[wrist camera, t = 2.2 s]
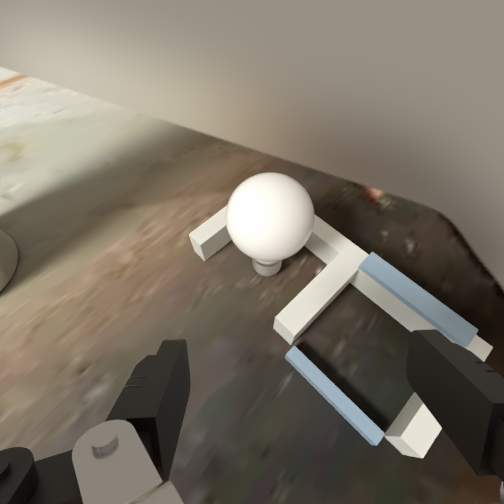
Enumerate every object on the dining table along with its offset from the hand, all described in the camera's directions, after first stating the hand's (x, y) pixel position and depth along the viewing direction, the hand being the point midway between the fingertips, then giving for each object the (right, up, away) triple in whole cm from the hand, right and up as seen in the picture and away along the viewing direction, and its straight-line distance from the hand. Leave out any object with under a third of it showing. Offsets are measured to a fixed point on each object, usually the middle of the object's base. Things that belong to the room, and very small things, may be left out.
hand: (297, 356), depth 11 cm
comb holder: (+3, -1, +16) cm, 16 cm away
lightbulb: (0, +2, +18) cm, 18 cm away
